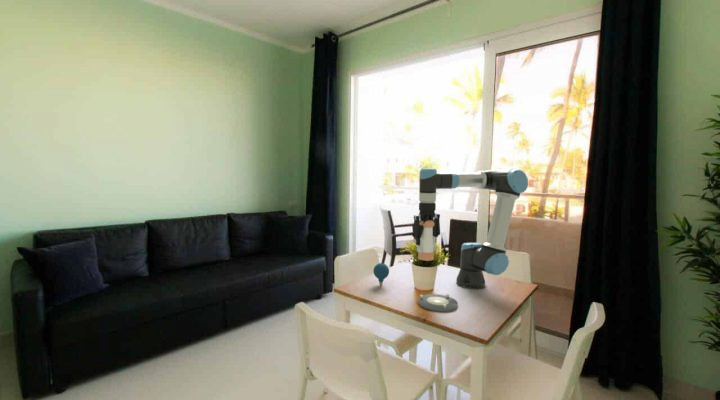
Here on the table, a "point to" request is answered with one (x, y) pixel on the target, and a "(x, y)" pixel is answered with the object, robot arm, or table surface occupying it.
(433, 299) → the stud plate
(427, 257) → the pepper shaker
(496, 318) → the table surface
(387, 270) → the light bulb
